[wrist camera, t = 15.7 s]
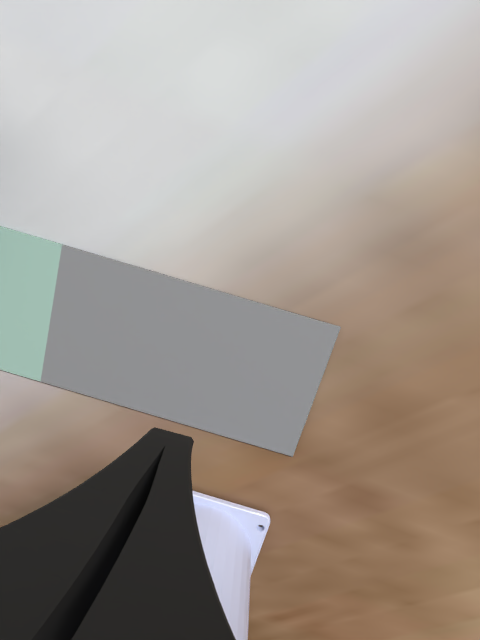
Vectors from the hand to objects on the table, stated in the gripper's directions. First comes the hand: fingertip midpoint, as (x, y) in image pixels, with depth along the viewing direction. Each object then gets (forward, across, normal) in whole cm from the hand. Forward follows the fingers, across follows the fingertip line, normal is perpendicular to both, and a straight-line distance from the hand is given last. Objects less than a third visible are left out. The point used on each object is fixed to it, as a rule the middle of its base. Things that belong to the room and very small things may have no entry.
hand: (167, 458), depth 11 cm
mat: (+10, +13, +1) cm, 16 cm away
